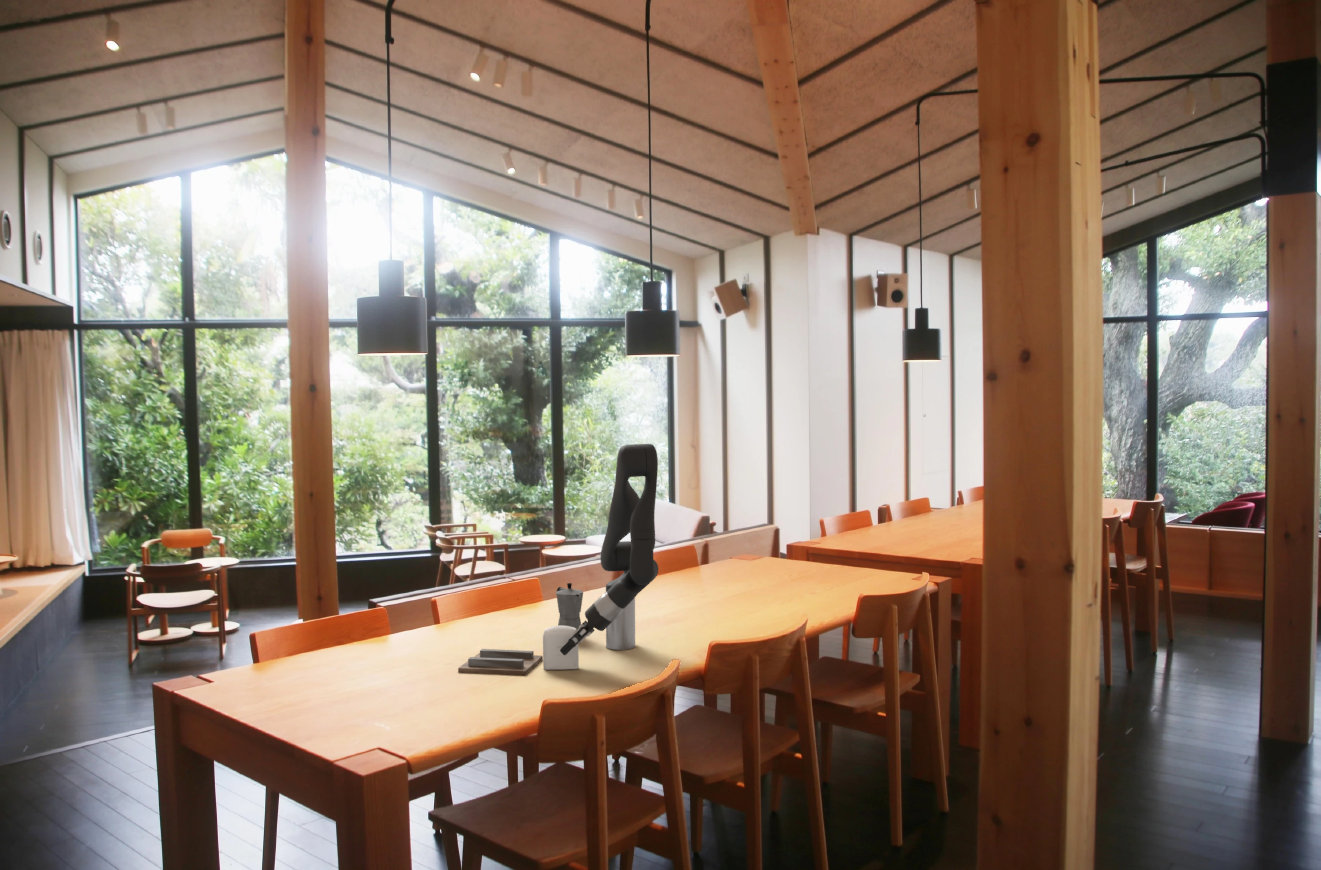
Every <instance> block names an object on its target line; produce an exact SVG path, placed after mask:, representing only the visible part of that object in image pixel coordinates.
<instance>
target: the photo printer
mask: <svg viewBox="0 0 1321 870" xmlns="http://www.w3.org/2000/svg"><path fill="white" fill-rule="evenodd" d="M576 630H577V629H576V628H574V627H570V626H558V625H554V626H553V625H552V626H549V627H546V628H544V631H543V634H542V656H543V660H542V662H543V663H542V665H543V670H547V671H550V670H578V669H579V667H580V665H579V664H580V663H579V662H580V658H579V657H580V656H579V643H578V644H577V645H576V646H575V647H573V648H572V649H571V650H570V651H569V652H568V653H567V654H566V655H563V654H562V653H561V652H560V649H561V648H562V647H563V646H564V645H565V644H566V643H567V642H568V640H569V639H570V638H571V637H572V636H573V633H574V632H575V631H576ZM572 640H573V641H574V642H575V643H576V642H577V641H578V640H577V639H576V638H575V637H574V638H573V639H572Z"/></svg>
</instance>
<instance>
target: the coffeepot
mask: <svg viewBox="0 0 1321 870" xmlns="http://www.w3.org/2000/svg"><path fill="white" fill-rule="evenodd" d="M566 585H567V588H565V587H561V586H559V587H557V589H556V591H555V595H556V600H557V601H556V602H557V608H558V613H559V618H558V624H557V626H570V627H574V628H576V629H578V628H579V626H580V625H581V624H582V621H581V617H580V616H581V615H580V614H581V612H582V605H583V598H584V597H583V596H584V591H583V590H581V589H576V588H572V583H571V582H569V583H566Z"/></svg>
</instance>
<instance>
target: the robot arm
mask: <svg viewBox="0 0 1321 870" xmlns="http://www.w3.org/2000/svg"><path fill="white" fill-rule="evenodd" d="M658 468H659V460H658V453H657V448H656V447H655V446H654V444H652V443H637V444H635V443H634V444H625V445H621V446H620V448H619V450H618V452H617V457H616V467H615V479H614V488H613V493H612V497H611V502H610V507H609V512H608V513H609V514H608V520H607V521H608V522H607V527H606V532H605V536H604V538H603V539H604V540H603V543H602V546H601V549H600V550H601V551H600V565H601V567H602V569H603V570H604V571H606V572H622V574H621V575H620V576H618V577H616V578H615V579H613V580H609V582H607V583H605V584H606V585H605V592H604V593H603V594H601V595H600V596H599V597H598V598H597V599H596V600H595V601H594V602H593V603H592V605H591V606H589V607H588V608H587V609H586V611H585V612H584V616H585V618H586V620H583V621H584V622H581V625H580V626H579V628H578V629H577V630H576V631H575V632H574V633H573V636H572V637H571V638H570V639H569V640H568V642H567V643H566V644H565V645H564V646H563V647H562V648H561V649H560V652H561V653H562V654H563V655H566V654H567V653H568V652H569V651H570V650H571V649H572V648H573V647H575V646H576V645H577V644H578V645H579V643H580V644H581V643H582V642H584V641H585V640H586V638H587V637H590V636H591V635H592V634H593V633H594V632H595V629H596V630H597V631H599V632H603V631H605V642H606V643H605V647H606V648H607V649H609V650H615V651H623V650H632V649H634V648H635V647H636V597H637V596H638V594H640V593H641V592H642V590H644V589H645V588H646V587H647V586H648V585H649V584H651V583H652V582H653V581H654V580H655V579H656V577H657V576H658V575H659V565H658V563H657V561H656V560H655V559H654V551H655V550H654V549H655V546H656V525H655V524H656V523H655V509H656V499H657V487H658V485H657V484H658ZM634 477H635V478H637V477H638V478H639V477H640V478H641V477H644V478H645V479H644V488H643V490H642V493H641V495H640V496H639V495H638V493H637V491H636V490H635V489H634V488H633V486H632V485H631V483H630V482H629V479H630V478H634ZM629 534H630V541H627V540H626V541H623V539H624V538H625V537H626V536H627V535H629ZM574 637H575V638H576V639H577V640H578V641H577V642H576V643H575V642H574V641H573V640H572V639H573V638H574Z"/></svg>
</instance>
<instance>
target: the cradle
mask: <svg viewBox="0 0 1321 870" xmlns="http://www.w3.org/2000/svg"><path fill="white" fill-rule="evenodd" d="M540 661H541V662H543V655H535V654H534V650H517V649H515V650H514V649H494V648H491V649H490V648H482V649H480V650H479V652H478V653H477V654H476V655H474V656H470V657H469V658H468V659H467V661H466V662H464V663H463V664H462V665H460V666H459V667H458V668H457V672H458V673H468V674H469V673H470V674H488V675H489V674H491V675H493V674H494V675H512V676H513V675H515V676H527V675H528V674H529V673H530V672H531V671H532V670H533V669H534V668H535V667H536V666H537V665H539V664H540V663H539V662H540Z"/></svg>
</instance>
